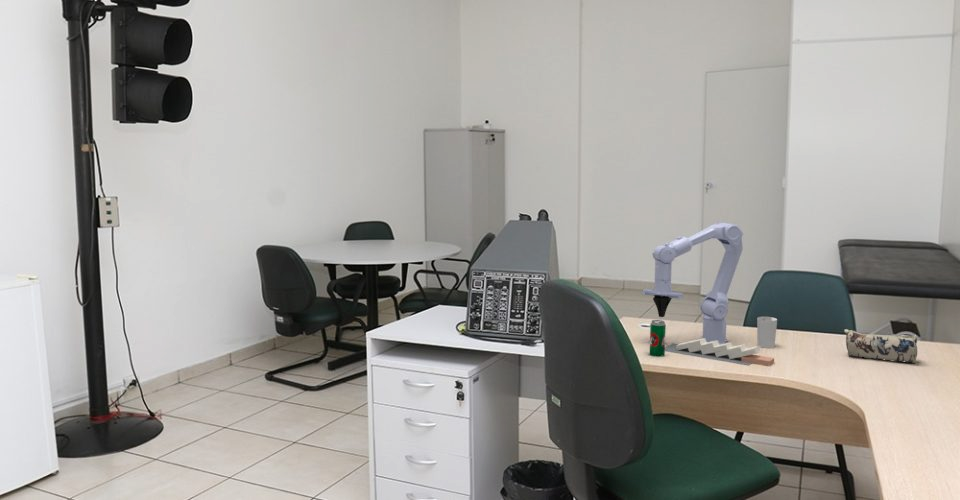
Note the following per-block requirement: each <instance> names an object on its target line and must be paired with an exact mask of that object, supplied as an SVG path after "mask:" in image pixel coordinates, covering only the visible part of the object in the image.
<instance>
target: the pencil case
mask: <svg viewBox="0 0 960 500" xmlns="http://www.w3.org/2000/svg"><path fill="white" fill-rule="evenodd" d="M843 330H844V331H843V332H844V334H845V335H846V336H845V346H846V350H847V355H849V356H853V357H857V358H862V357H864V358H863V359H869V358H874V359H873V360H878V359H885V360H884V361H886V360H895V361H894V362H900V361H905V362H912V363H911V364H916V363H917V357H918V346H917V343H918V341H917V340H918V339H917V337H918V336H917V335H916V334H914V336H913V335H905V334H901V335H891V334H890V335H889V334H871V333H866V334H865V333H860V332H857V331H855V330H851V329H850V330H849V329H847V328H846V329H843ZM905 362H904V363H905Z"/></svg>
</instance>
